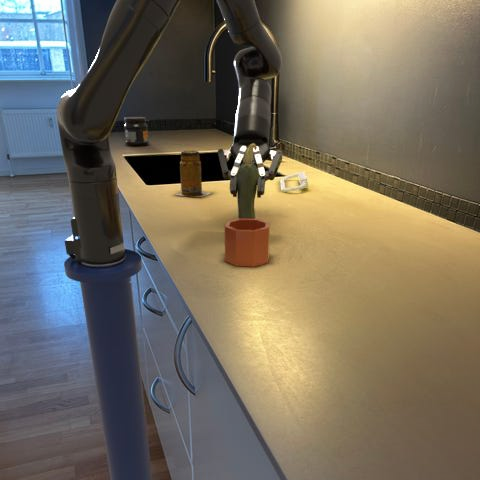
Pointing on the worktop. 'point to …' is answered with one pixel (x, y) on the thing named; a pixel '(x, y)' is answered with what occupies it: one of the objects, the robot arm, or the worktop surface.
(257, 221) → the utensil pot
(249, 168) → the vegetable
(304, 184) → the white open frame
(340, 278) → the worktop surface
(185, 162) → the condiment
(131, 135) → the supplement container
